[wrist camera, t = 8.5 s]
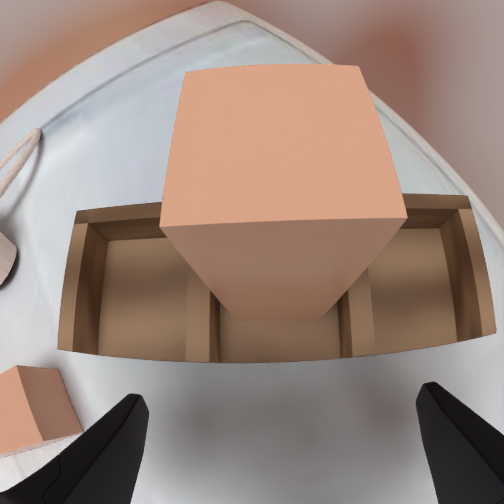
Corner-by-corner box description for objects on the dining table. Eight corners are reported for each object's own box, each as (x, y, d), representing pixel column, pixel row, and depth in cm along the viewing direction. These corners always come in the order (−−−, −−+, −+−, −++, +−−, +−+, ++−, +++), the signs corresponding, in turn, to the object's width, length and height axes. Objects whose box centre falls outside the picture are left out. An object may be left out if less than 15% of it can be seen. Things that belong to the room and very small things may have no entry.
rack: (463, 340, 17) (496, 333, 14) (91, 354, 19) (57, 349, 15) (443, 221, 20) (467, 195, 17) (103, 234, 22) (76, 211, 18)
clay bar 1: (-3, 458, 16) (-40, 463, 11) (-21, 409, 17) (-58, 408, 13) (85, 431, 17) (43, 441, 13) (60, 369, 19) (16, 365, 14)
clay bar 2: (321, 317, 18) (407, 218, 6) (236, 320, 18) (159, 226, 6) (315, 238, 20) (358, 66, 8) (236, 241, 20) (185, 72, 8)
